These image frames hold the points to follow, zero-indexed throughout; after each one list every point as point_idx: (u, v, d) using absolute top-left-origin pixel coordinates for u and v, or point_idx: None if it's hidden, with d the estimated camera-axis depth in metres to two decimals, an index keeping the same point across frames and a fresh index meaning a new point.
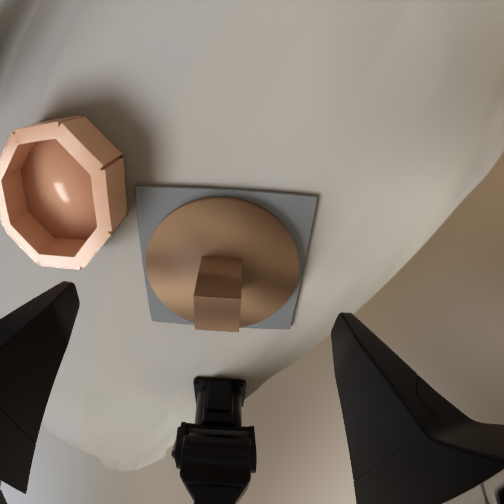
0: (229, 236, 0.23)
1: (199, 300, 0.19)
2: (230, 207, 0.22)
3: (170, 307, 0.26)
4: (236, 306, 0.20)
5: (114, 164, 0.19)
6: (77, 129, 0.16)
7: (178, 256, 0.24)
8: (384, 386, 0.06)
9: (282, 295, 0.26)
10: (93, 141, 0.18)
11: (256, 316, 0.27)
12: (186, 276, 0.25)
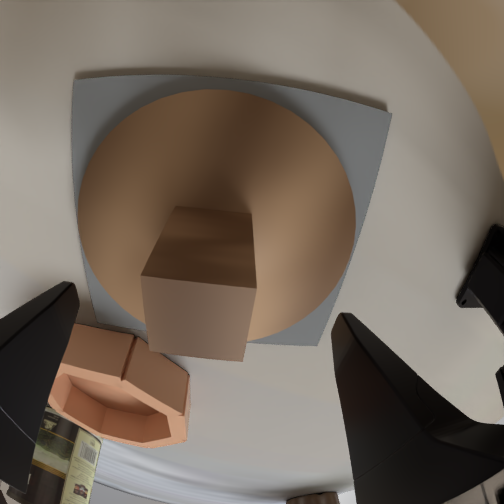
0: (132, 224, 0.12)
1: (157, 344, 0.09)
2: (86, 220, 0.12)
3: (283, 326, 0.16)
4: (165, 287, 0.08)
5: None
6: None
7: None
8: (384, 386, 0.06)
9: (276, 124, 0.10)
10: None
11: (330, 185, 0.12)
12: None
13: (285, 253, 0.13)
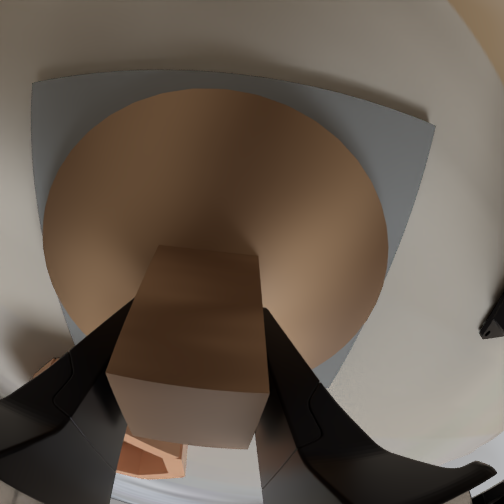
0: (108, 265, 0.09)
1: (141, 432, 0.06)
2: (54, 258, 0.09)
3: None
4: (141, 387, 0.05)
5: None
6: None
7: None
8: (272, 390, 0.06)
9: (293, 137, 0.08)
10: None
11: (361, 219, 0.09)
12: None
13: (299, 301, 0.10)
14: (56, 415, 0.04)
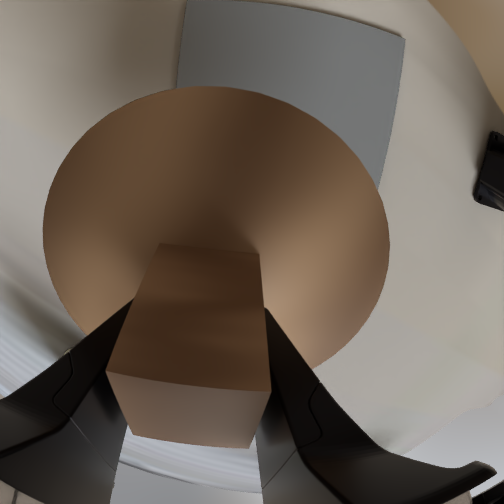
0: (108, 263, 0.09)
1: (141, 431, 0.06)
2: (55, 257, 0.09)
3: None
4: (141, 386, 0.05)
5: None
6: None
7: None
8: (272, 390, 0.06)
9: (294, 135, 0.08)
10: None
11: (362, 217, 0.09)
12: None
13: (300, 299, 0.10)
14: (56, 415, 0.04)
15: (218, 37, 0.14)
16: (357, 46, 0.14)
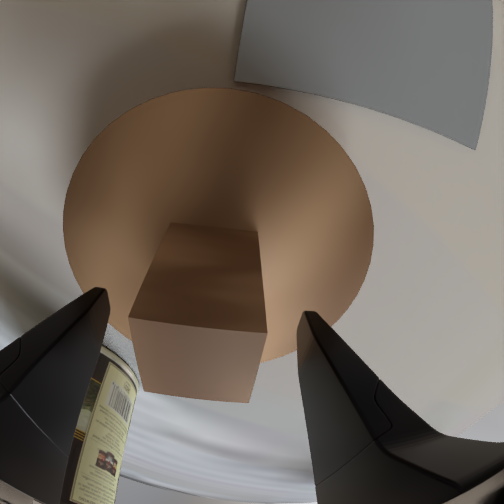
0: (123, 242, 0.11)
1: (152, 385, 0.08)
2: (73, 237, 0.11)
3: (290, 349, 0.14)
4: (158, 330, 0.06)
5: None
6: None
7: None
8: (339, 389, 0.06)
9: (287, 129, 0.09)
10: None
11: (347, 199, 0.10)
12: None
13: (294, 274, 0.12)
14: None
15: None
16: None
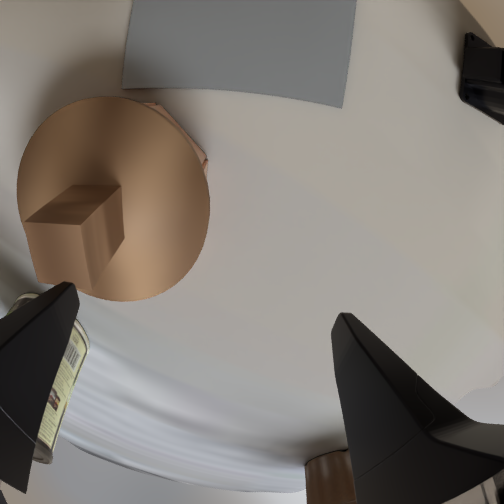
0: (49, 201, 0.14)
1: (41, 276, 0.11)
2: (22, 201, 0.14)
3: (168, 285, 0.18)
4: (35, 228, 0.10)
5: None
6: None
7: None
8: (384, 386, 0.06)
9: (128, 115, 0.13)
10: None
11: (176, 155, 0.14)
12: None
13: (152, 216, 0.16)
14: None
15: None
16: None
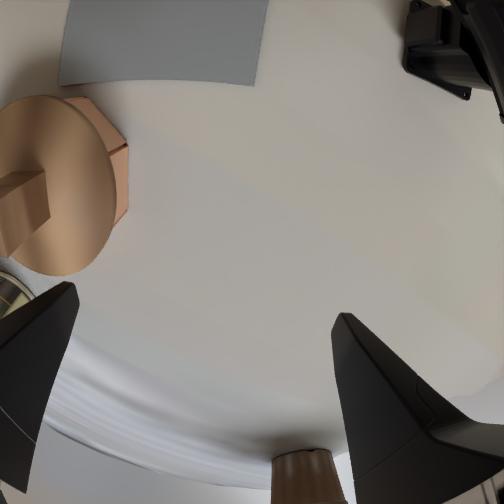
0: None
1: None
2: None
3: (87, 261, 0.18)
4: None
5: None
6: None
7: None
8: (384, 386, 0.06)
9: (48, 110, 0.12)
10: None
11: (82, 142, 0.14)
12: (42, 234, 0.16)
13: (68, 197, 0.15)
14: None
15: None
16: None
